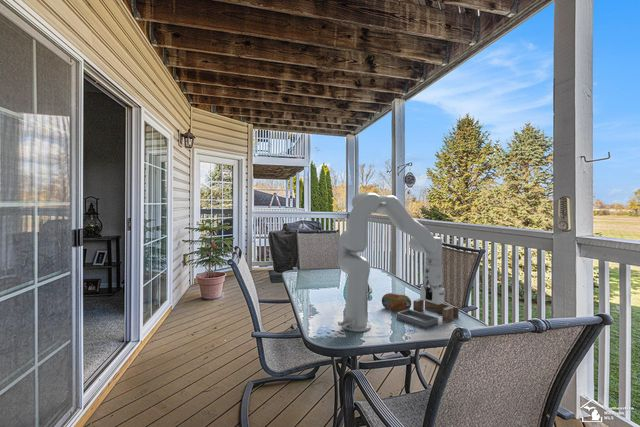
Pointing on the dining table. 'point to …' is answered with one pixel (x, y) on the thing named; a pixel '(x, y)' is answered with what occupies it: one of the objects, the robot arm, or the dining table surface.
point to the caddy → (433, 295)
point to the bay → (437, 309)
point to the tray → (417, 318)
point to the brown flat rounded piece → (396, 302)
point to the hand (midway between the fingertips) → (432, 298)
